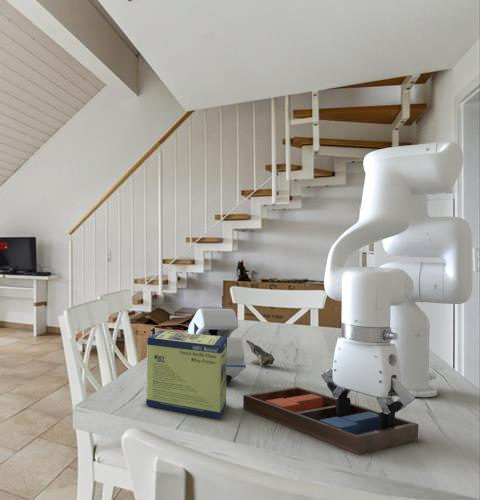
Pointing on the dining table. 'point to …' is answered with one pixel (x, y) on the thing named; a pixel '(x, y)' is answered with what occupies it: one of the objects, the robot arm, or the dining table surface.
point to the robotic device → (221, 325)
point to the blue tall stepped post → (354, 422)
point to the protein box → (187, 373)
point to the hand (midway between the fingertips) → (363, 424)
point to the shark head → (260, 355)
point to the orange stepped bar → (299, 402)
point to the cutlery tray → (330, 434)
